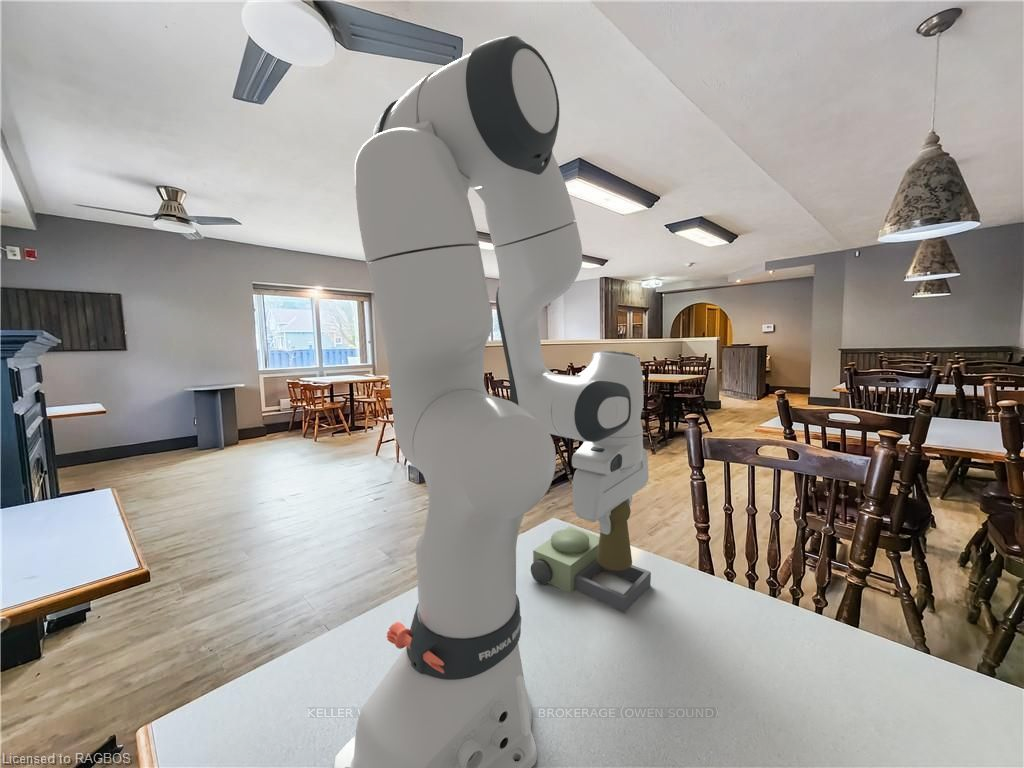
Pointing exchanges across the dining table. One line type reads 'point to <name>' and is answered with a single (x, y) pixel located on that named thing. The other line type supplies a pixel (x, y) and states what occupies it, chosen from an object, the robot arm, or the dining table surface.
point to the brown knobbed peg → (616, 541)
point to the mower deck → (583, 569)
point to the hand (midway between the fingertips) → (614, 525)
